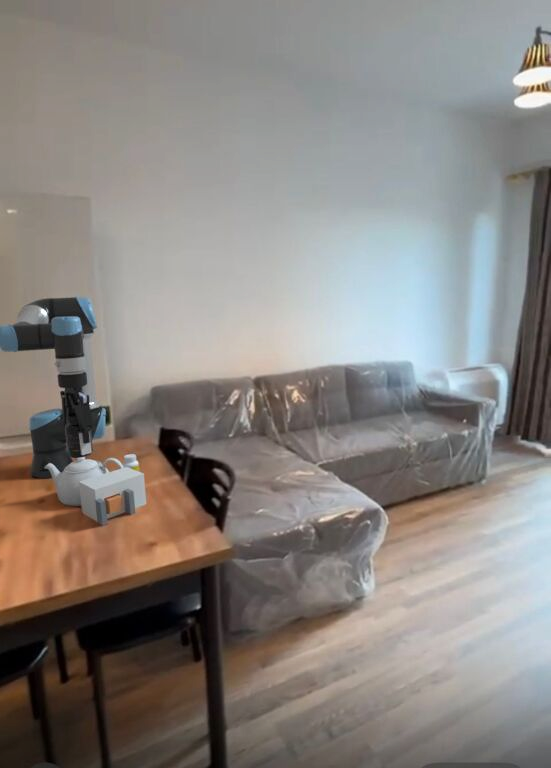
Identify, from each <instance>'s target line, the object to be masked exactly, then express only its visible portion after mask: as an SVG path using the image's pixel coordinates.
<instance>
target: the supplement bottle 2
mask: <svg viewBox="0 0 551 768" xmlns="http://www.w3.org/2000/svg"><path fill="white" fill-rule="evenodd" d="M123 458H124V459H123V460H124V462H123V463H122V465H123V468H125V467H128V468H131V469H133V470H136V471H138V472H140V463H139V461H138V460H137V455H136V454H134V453H131V454H126V455H124V456H123Z"/></svg>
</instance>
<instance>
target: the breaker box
mask: <svg viewBox="0 0 551 768" xmlns="http://www.w3.org/2000/svg"><path fill="white" fill-rule="evenodd" d="M79 487H80V496H81V505H82V506H81V512H82V514H84V516H87V517H89V518H90V519H91V520H93V521H95V522H97V524H99V525H101V526H102V527H104V526H106V525H108V520H109V519H110V518H111V519H112V518H114V517H116V516H119V515H122V514H124V513H126V514H128V515H130V516H131V515H134V514H136V509H138V508H140V507H142V506H143V507H144V506H145V505H147V495H146V492H147V491H146V483H145V473H143V472H141V471H139V472H138V471H136V470H133V469H131V468H128V467H125V468H122V469H120V468H119V469H116V470H112V471H109V473H106V474H102V475H99V476H96V477H93V478H89V479H86V480H83V481H80V482H79ZM116 494H117V495H119V496H121V497H122V506H123V510H120V511H117V512H115V513H112V514H109V513H108V512H106V504H105V501H104V498H107V497H110V496H113V495H116Z"/></svg>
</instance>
